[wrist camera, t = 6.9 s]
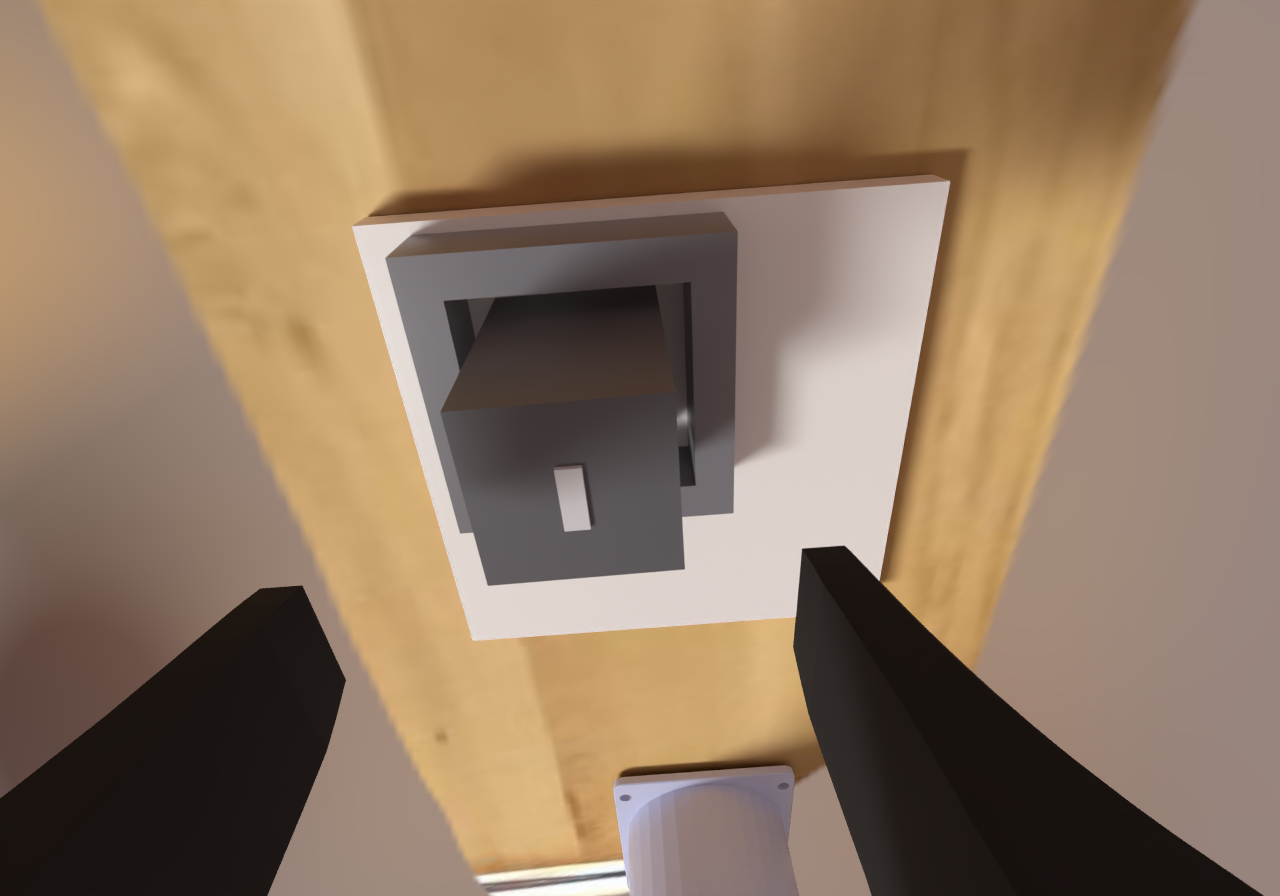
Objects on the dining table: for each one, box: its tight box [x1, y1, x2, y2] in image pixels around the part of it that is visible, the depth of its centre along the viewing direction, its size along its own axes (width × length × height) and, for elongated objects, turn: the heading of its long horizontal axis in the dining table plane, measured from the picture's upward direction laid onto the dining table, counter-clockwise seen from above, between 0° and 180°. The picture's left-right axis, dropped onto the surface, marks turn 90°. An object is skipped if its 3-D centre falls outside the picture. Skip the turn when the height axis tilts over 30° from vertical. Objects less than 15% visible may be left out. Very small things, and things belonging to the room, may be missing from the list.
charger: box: [440, 285, 685, 586], centre depth 14 cm, size 4×4×6 cm
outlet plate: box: [352, 174, 950, 641], centre depth 18 cm, size 14×14×3 cm
